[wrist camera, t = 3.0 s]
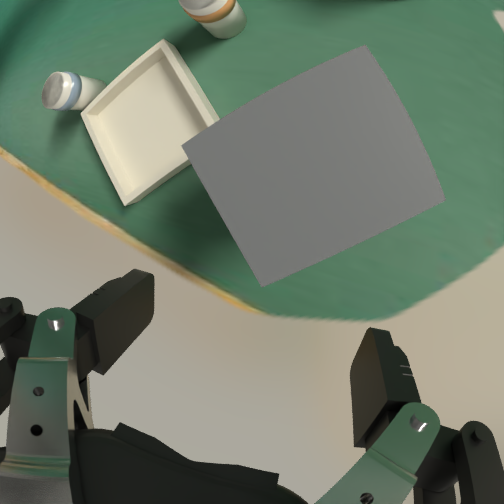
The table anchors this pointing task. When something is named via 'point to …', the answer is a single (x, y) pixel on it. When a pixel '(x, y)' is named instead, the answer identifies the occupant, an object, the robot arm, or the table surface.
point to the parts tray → (148, 121)
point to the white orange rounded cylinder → (217, 16)
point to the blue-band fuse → (70, 91)
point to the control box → (315, 166)
